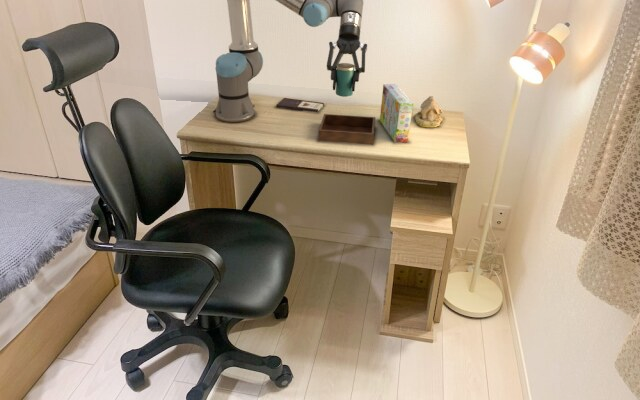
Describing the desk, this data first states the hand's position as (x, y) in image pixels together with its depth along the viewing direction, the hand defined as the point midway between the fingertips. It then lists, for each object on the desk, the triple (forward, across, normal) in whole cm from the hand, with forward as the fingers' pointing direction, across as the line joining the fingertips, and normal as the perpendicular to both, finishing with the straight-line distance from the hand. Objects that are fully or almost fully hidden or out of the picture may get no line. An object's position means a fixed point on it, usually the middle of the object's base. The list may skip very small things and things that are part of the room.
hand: (343, 88), depth 165 cm
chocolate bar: (-7, -20, +34) cm, 40 cm away
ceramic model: (-2, +33, +28) cm, 44 cm away
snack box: (+6, +19, +20) cm, 28 cm away
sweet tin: (0, 0, +5) cm, 5 cm away
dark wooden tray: (+11, +2, +16) cm, 19 cm away
